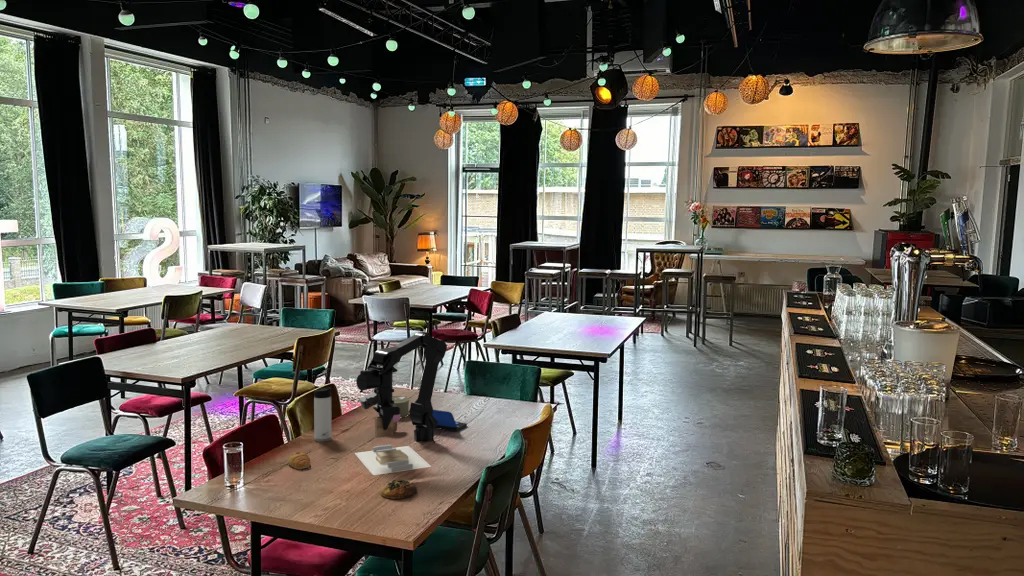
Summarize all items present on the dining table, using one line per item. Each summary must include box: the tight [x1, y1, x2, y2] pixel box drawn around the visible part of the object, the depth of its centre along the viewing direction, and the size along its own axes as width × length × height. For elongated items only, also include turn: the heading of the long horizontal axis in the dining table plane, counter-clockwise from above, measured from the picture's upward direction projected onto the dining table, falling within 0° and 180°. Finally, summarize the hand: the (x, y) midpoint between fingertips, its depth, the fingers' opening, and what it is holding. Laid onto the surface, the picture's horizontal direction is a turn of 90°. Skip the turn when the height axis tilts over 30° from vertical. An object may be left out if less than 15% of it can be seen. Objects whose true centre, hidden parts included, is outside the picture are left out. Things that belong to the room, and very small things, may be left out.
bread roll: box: [379, 478, 418, 500], centre depth 216 cm, size 11×11×5 cm
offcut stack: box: [376, 450, 408, 464], centre depth 243 cm, size 10×5×2 cm, turn 117°
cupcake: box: [377, 414, 401, 434], centre depth 276 cm, size 9×9×10 cm
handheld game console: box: [433, 409, 468, 433], centre depth 284 cm, size 16×13×9 cm
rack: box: [354, 444, 432, 476], centre depth 243 cm, size 20×24×2 cm
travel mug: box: [313, 387, 333, 443], centre depth 266 cm, size 6×7×20 cm
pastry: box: [287, 451, 311, 470], centre depth 238 cm, size 9×7×4 cm
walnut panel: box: [374, 416, 394, 439], centre depth 250 cm, size 6×2×7 cm, turn 117°
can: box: [391, 395, 410, 417], centre depth 302 cm, size 12×12×7 cm
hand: (384, 428), depth 250 cm, fingers closed on walnut panel, 2 cm apart
